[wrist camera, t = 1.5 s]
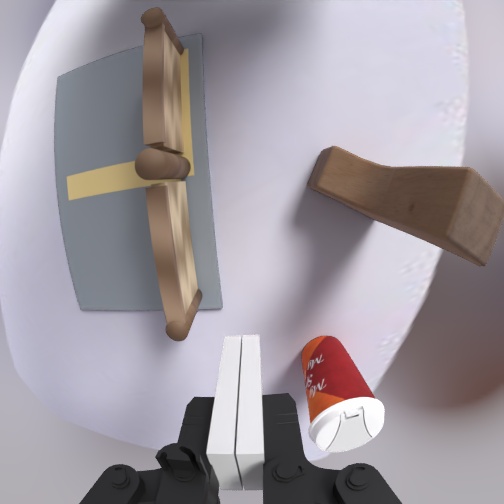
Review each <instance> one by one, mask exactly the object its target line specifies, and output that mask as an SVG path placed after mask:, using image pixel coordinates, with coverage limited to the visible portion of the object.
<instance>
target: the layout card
mask: <svg viewBox="0 0 504 504" xmlns="http://www.w3.org/2000/svg"><path fill="white" fill-rule="evenodd" d="M178 39H179V40H180V42H181V44H182V46H183V48H184V51H183V53H182V55H181V56H180V68H181V106H182V127H183V144H184V153H180V154H175V155H179V156H182V157H185V158H187V159H188V160H189V162H190V165H191V169H190V172H189V174H188V175H187V176H186V177H185V178H182V179H163V180H144V179H142V178H140V177H139V176H138V174H137V173H136V170H135V160H136V158H137V156H138V155H139V153H140V152H142V151H143V150H145V149H148V148H150V145H149V146H146V145H144V136H143V52H144V45H143V46H140V47H136V48H133V49H129V50H126V51H123V52H120V53H117V54H114V55H111V56H108V57H105V58H102V59H99V60H97V61H94V62H92V63H89V64H87V65H84V66H82V67H79V68H77V69H75V70H72V71H70V72H68V73H66V74H63V75H61V76H59V77H58V79H57V89H56V101H55V122H54V152H55V174H56V187H57V197H58V206H59V214H60V221H61V227H62V233H63V239H64V245H65V250H66V255H67V260H68V264H69V269H70V273H71V277H72V281H73V285H74V289H75V293H76V296H77V300H78V303H79V307H80V309H82V310H164V307H163V302H162V297H161V292H160V287H159V282H158V276H157V271H156V265H155V259H154V253H153V246H152V239H151V232H150V225H149V217H148V209H147V200H146V190H145V188H151V184H157V183H164V182H179V181H186V192H187V203H188V213H189V222H190V231H191V239H192V248H193V256H194V263H195V271H196V278H197V285H198V289H200V290H201V292H202V295H203V297H202V300H201V302H200V305H199V307H198V309H220V308H223V303H222V295H221V287H220V278H219V270H218V261H217V251H216V242H215V232H214V222H213V211H212V200H211V188H210V176H209V163H208V150H207V135H206V119H205V101H204V80H203V52H202V34H194V35H188V36H183V37H178Z"/></svg>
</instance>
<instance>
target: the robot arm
mask: <svg viewBox="0 0 504 504" xmlns="http://www.w3.org/2000/svg"><path fill="white" fill-rule="evenodd" d="M156 459H157V461H158V462H159V464H160V465H161V467H162V468H160V469H156V470H147V471H135V469H133V468H132V467H130V466H127V465H123V464H119V465H113V466H111V467H109V468H107V469H106V470H105V471H104V472H103V474H102V475H101V476H100V477H99V479H98V480H97V481H96V483H95V484H94V485H93V487H92V488H91V489H90V490H89V492H88V493H87V494H86V496H85V497H84V498H83V500H82V501H81V502H80V503H79V504H220V499H219V497H218V491H219V487H220V489H221V490H243V486H244V489H245V490H263V504H402V503H401V502H400V500H399V499H398V498H397V496H396V495H395V493H394V492H393V491H392V490H391V488H390V487H389V485H388V484H387V483H386V481H385V480H384V479H383V477H382V476H381V474H380V473H379V472H378V470H376V469H375V468H374V467H373V466H371V465H368V464H365V463H356V464H352V465H348V466H347V467H346V468H344V469H342V470H332V469H323V468H319V467H316V466H314V465H312V464H311V463H310V462H309V461H308V460H307V459H306V457H305V455H304V451H303V445H302V439H301V433H300V427H299V421H298V415H297V409H296V403H295V401H294V400H293V398H292V397H291V396H290V395H289V394H288V393H285V394H272V395H263V382H262V367H261V353H260V339H259V334H257V335H243V338H241V335H239V336H225V338H224V344H223V350H222V356H221V362H220V369H219V375H218V381H217V387H216V393H215V397H194V398H193V399H192V400H191V401H190V403H189V404H188V405H187V407H186V411H185V415H184V419H183V423H182V427H181V431H180V435H179V438H178V442H177V443H172V444H170V445H167V446H164V447H163V448H162V449H161V450H159V451H158V453H157V455H156Z"/></svg>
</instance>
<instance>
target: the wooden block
mask: <svg viewBox="0 0 504 504" xmlns="http://www.w3.org/2000/svg"><path fill="white" fill-rule="evenodd" d="M308 186H309V188H311V189H313V190H315V191H317V192H320V193H322V194H324V195H326V196H328V197H330V198H332V199H334V200H336V201H338V202H340V203H342V204H344V205H346V206H348V207H350V208H352V209H354V210H356V211H358V212H360V213H362V214H364V215H366V216H368V217H370V218H372V219H373V220H376V221H378V222H381V223H383V224H386V225H388V226H391V227H393V228H396V229H398V230H401V231H403V232H406V233H408V234H410V235H413V236H415V237H417V238H420V239H422V240H424V241H427V242H429V243H431V244H433V245H436V246H438V247H440V248H442V249H445V250H447V251H449V252H451V253H453V254H455V255H457V256H460V257H462V258H464V259H466V260H468V261H470V262H472V263H474V264H476V265H478V266H485V265H486V264H487V262H488V259H489V257H490V255H491V252H492V250H493V247H494V244H495V242H496V239H497V236H498V233H499V231H500V227H501V225H502V221H503V218H504V200H503V199H502V198H501V197H500V196H499V194H498V193H497V192H496V191H495V190H494V189H493V188H492V187H491V186H490V185H489V184H488V183H487V182H486V181H485V180H484V179H483V178H482V177H481V176H480V175H479V174H478V173H477V172H476V171H475V170H474V169H472V168H470V167H443V166H415V167H390V166H384V165H380V164H377V163H374V162H371V161H368V160H365V159H363V158H360V157H358V156H356V155H354V154H352V153H350V152H348V151H346V150H344V149H342V148H339V147H337V146H332V147H329V148H326V149H324V150H323V151H321V154H320V156H319V158H318V161H317V163H316V165H315V168H314V170H313V173H312V175H311V177H310V180H309V182H308Z"/></svg>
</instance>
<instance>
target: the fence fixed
mask: <svg viewBox="0 0 504 504" xmlns="http://www.w3.org/2000/svg"><path fill="white" fill-rule="evenodd" d="M141 22H142V23H143V24H144V26H145V36H144V52H143V136H144V145H146V146H149V145H150V148H148V149H145V150H143V151H142V152H140V153H139V155H138V156H137V158H136V160H135V170H136V173H137V174H138V176H139V177H140V178H142V179H144V180H163V179H182V178H185V177H186V176H187V175H188V174H189V172H190V169H191V165H190V162H189V160H188V159H187V158H185V157H182V156H179V155H175V154H180V153H184V144H183V127H182V106H181V68H180V56H181V55H182V53H183V51H184V48H183V46H182V44H181V42H180V40H179V39H178V37H177V35H176V33H175V32H174V30H173V28H172V26H171V25H170V23H169V21H168V20H167V18H166V16H165V15H164V13H163V11H162V10H161V9H160V8H152V9H149V10H147V11H146V12H145V13H144V14H143V15H142V17H141Z"/></svg>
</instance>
